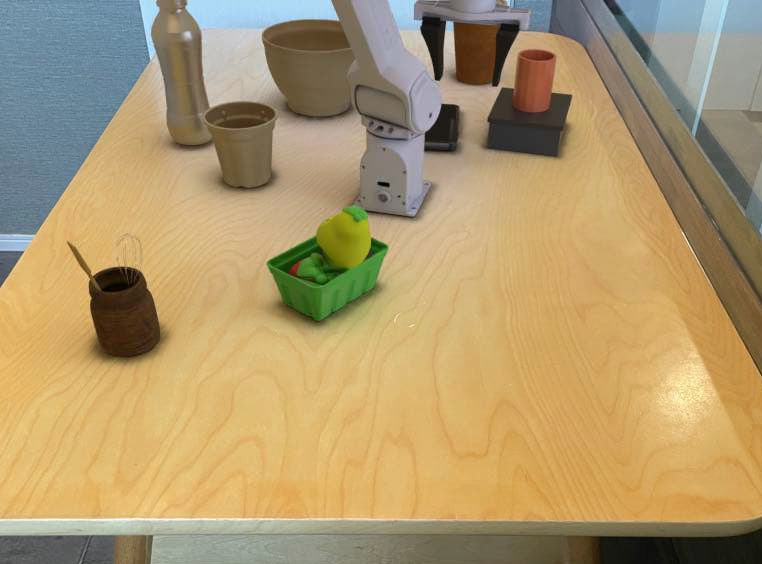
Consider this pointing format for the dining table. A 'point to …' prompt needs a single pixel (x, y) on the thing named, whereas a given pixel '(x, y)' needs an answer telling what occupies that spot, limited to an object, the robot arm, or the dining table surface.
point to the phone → (444, 130)
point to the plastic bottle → (181, 71)
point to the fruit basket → (330, 265)
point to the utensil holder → (121, 308)
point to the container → (527, 125)
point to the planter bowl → (310, 64)
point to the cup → (534, 80)
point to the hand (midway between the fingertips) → (467, 81)
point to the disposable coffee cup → (475, 51)
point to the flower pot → (243, 140)
